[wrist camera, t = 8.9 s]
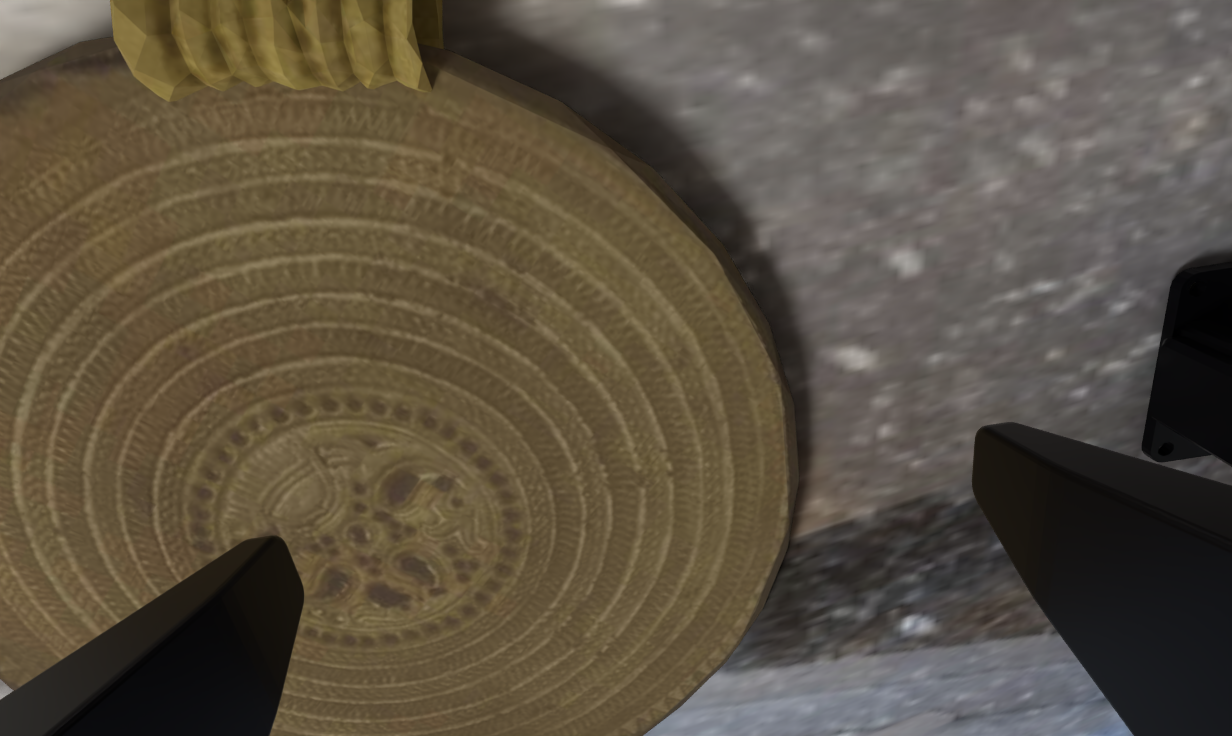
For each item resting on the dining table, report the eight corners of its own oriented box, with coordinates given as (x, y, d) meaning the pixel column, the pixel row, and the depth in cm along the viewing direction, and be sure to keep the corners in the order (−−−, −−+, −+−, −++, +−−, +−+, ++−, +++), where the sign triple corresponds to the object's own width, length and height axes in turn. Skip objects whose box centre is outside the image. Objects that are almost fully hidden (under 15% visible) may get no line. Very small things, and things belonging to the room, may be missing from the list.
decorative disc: (46, 878, 27) (-605, -17, 14) (99, 792, 30) (-391, -9, 16) (790, 807, 27) (864, -110, 14) (769, 730, 30) (813, -87, 17)
